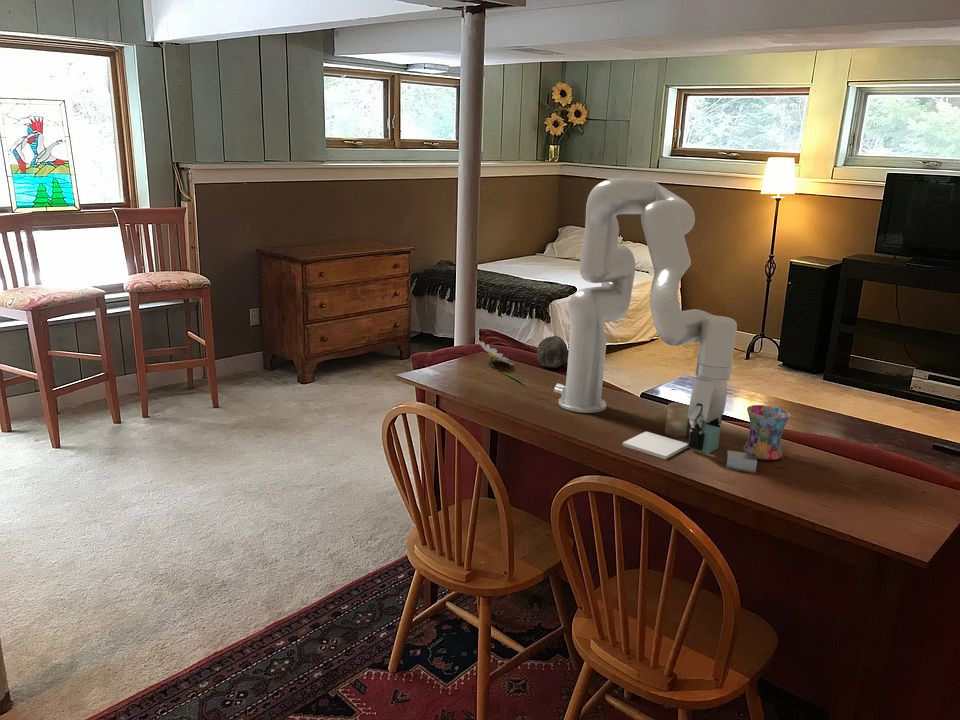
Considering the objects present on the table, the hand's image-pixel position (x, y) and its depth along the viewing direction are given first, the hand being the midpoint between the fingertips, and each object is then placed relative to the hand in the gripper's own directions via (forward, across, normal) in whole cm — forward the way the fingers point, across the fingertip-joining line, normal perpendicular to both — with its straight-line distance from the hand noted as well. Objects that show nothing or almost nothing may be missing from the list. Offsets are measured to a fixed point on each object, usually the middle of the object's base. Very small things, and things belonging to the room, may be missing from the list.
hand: (703, 443), depth 176 cm
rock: (+1, -31, -65) cm, 72 cm away
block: (+1, 0, 0) cm, 1 cm away
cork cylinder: (+1, -4, -9) cm, 10 cm away
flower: (+1, -13, -71) cm, 72 cm away
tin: (+1, +5, +11) cm, 12 cm away
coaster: (+1, +8, -8) cm, 11 cm away
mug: (+1, -7, +12) cm, 14 cm away
